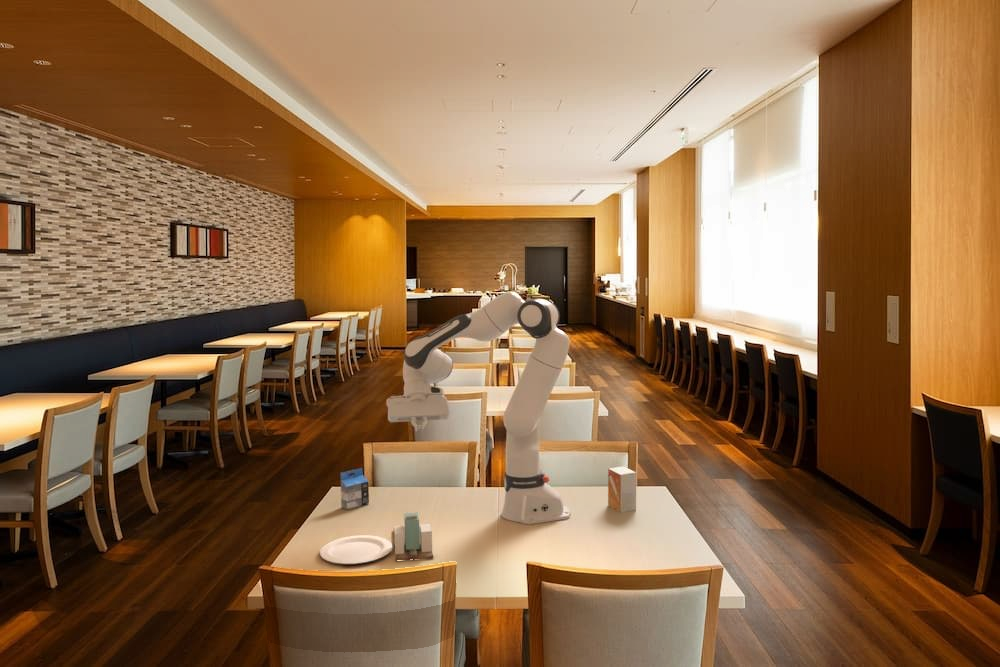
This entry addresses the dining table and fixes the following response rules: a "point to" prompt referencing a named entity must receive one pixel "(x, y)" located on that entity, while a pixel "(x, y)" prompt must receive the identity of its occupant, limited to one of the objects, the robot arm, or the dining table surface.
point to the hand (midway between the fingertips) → (419, 430)
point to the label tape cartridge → (354, 489)
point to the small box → (622, 489)
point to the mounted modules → (424, 538)
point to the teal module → (411, 531)
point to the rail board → (413, 552)
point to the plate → (356, 549)
